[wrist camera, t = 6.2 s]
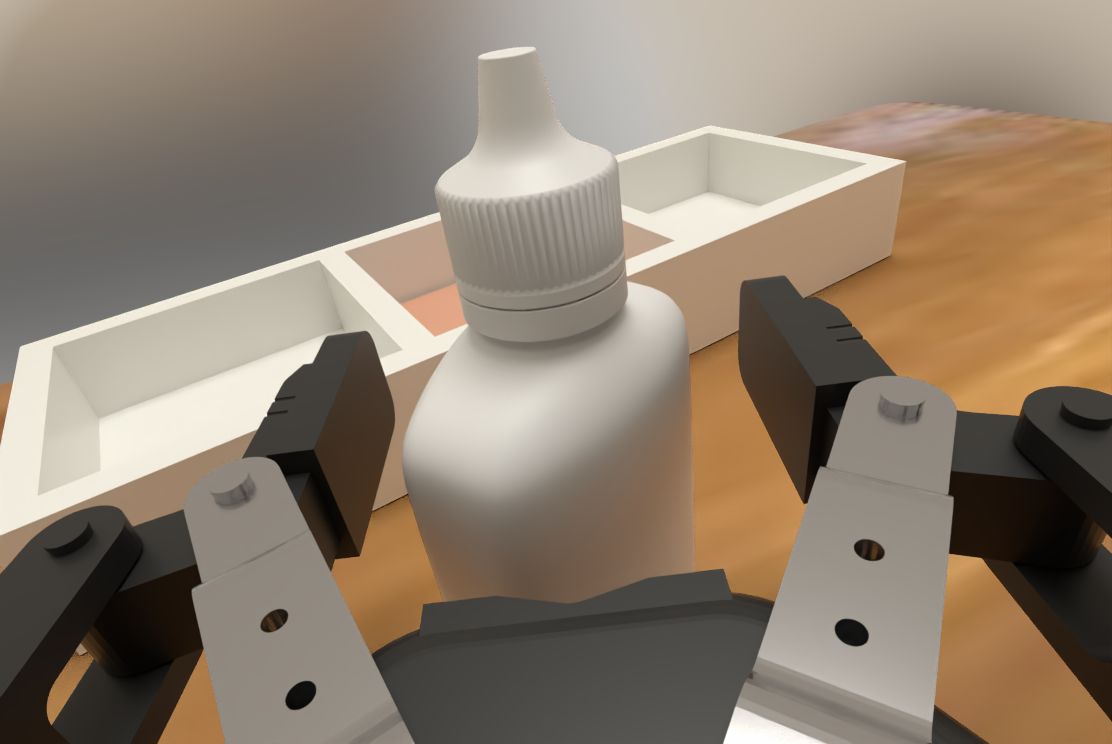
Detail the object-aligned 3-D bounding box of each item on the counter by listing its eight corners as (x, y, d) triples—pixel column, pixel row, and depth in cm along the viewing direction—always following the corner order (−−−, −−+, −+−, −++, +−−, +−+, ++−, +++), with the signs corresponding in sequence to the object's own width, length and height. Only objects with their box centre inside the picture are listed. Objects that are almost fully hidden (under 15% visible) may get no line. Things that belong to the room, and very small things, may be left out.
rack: (709, 200, 36) (709, 125, 34) (890, 255, 28) (906, 161, 26) (82, 438, 24) (20, 346, 22) (80, 655, 16) (-20, 543, 14)
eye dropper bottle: (447, 637, 15) (248, 83, 9) (651, 534, 17) (614, 9, 10) (525, 820, 12) (294, 137, 5) (770, 668, 14) (825, 14, 7)
